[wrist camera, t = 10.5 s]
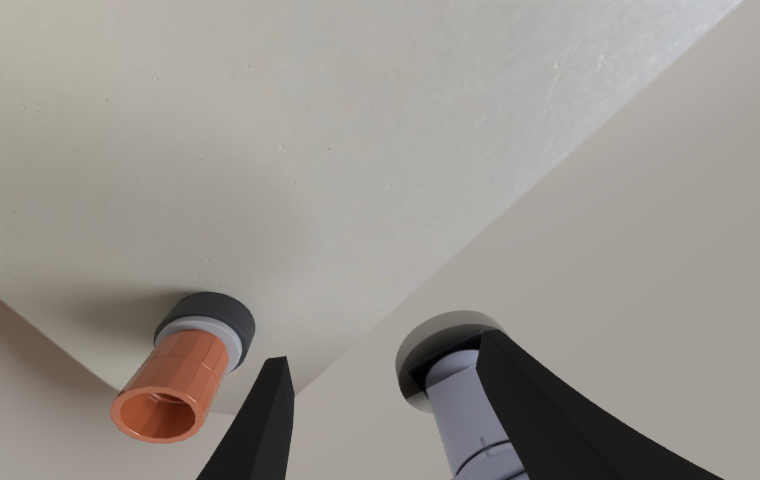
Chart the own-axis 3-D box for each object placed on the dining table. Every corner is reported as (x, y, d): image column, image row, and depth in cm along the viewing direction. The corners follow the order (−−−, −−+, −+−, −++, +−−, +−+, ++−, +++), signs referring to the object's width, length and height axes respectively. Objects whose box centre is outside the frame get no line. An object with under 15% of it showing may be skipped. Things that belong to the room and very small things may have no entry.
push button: (271, 331, 21) (263, 358, 19) (211, 366, 22) (196, 396, 19) (216, 278, 19) (199, 301, 17) (151, 318, 19) (126, 345, 17)
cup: (245, 356, 18) (221, 420, 15) (196, 384, 19) (159, 454, 15) (198, 314, 17) (156, 373, 13) (144, 346, 17) (89, 413, 14)
